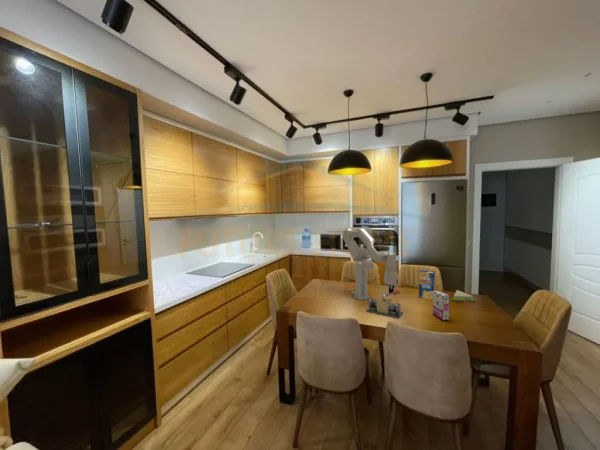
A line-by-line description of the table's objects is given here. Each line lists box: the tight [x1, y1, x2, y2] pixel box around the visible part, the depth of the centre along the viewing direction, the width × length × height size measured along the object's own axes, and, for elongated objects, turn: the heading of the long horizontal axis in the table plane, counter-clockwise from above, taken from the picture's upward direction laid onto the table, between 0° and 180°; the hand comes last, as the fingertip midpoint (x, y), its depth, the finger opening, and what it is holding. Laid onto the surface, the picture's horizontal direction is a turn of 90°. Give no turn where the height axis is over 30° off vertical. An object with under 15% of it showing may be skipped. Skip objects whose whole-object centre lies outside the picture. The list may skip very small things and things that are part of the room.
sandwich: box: [452, 289, 475, 303], centre depth 209 cm, size 15×20×5 cm
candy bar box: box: [432, 290, 451, 321], centre depth 175 cm, size 11×5×16 cm, turn 5°
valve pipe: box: [365, 297, 404, 319], centre depth 184 cm, size 23×11×11 cm, turn 54°
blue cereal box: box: [418, 269, 436, 301], centre depth 212 cm, size 7×11×22 cm, turn 56°
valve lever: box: [381, 289, 401, 299], centre depth 188 cm, size 18×3×2 cm, turn 123°
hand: (391, 293), depth 193 cm, fingers closed
